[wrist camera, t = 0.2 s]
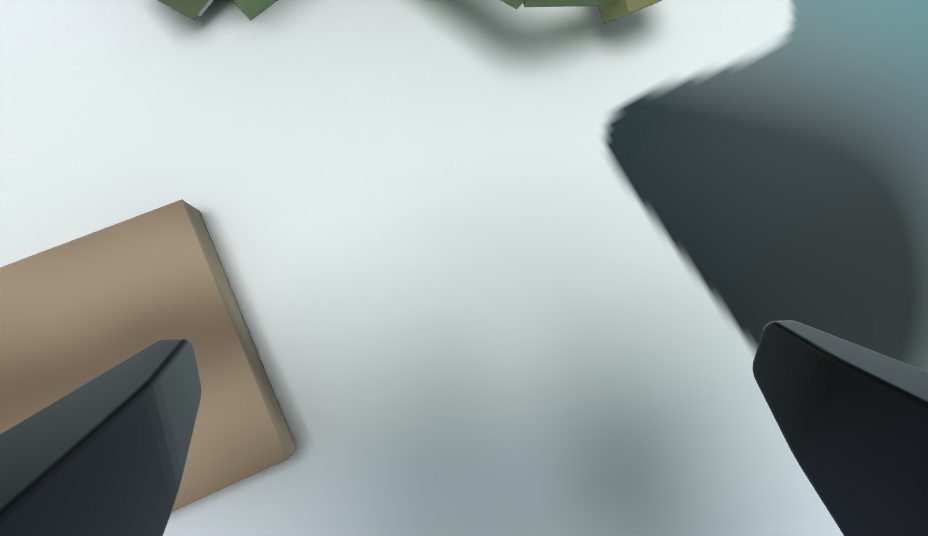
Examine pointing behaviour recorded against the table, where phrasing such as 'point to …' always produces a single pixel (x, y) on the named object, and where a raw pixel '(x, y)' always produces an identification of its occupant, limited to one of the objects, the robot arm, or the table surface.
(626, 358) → the table surface
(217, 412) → the base block
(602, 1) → the toy
